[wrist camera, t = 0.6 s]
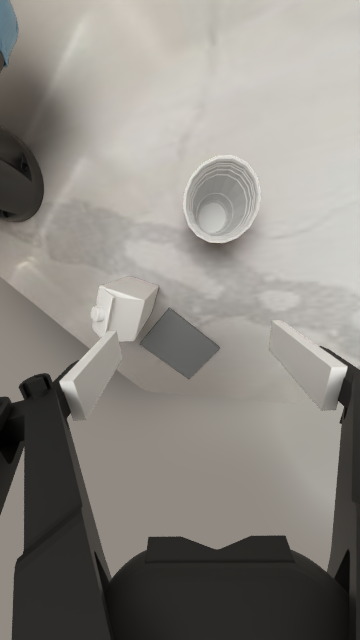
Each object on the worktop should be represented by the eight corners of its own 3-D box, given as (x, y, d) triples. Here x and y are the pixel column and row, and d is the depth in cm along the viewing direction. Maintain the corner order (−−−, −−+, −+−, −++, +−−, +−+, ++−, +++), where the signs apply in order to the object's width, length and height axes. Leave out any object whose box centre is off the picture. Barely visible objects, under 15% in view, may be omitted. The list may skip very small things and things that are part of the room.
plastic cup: (180, 192, 36) (177, 162, 24) (236, 181, 35) (260, 144, 23) (188, 251, 39) (188, 249, 28) (239, 242, 38) (261, 236, 27)
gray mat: (140, 342, 47) (139, 344, 46) (169, 307, 43) (169, 308, 43) (188, 377, 50) (188, 379, 49) (219, 346, 46) (220, 348, 46)
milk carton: (159, 285, 42) (138, 307, 24) (151, 313, 44) (126, 353, 26) (129, 275, 41) (84, 290, 23) (122, 304, 44) (77, 338, 26)
